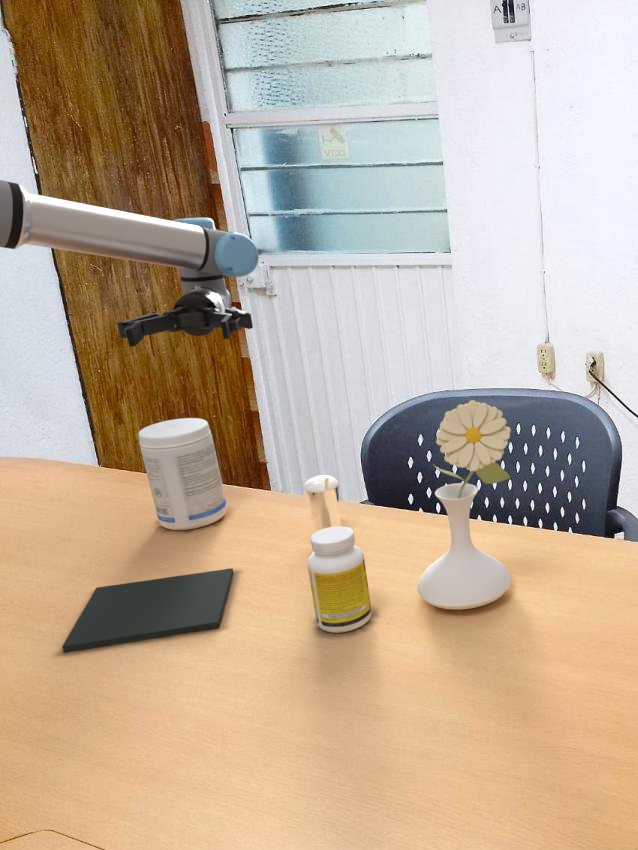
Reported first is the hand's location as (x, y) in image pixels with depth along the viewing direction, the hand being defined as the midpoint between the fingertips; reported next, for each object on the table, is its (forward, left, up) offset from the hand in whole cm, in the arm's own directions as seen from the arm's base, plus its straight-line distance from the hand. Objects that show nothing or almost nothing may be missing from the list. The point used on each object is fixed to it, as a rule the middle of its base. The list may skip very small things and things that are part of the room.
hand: (178, 334), depth 130 cm
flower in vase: (+37, -51, -26) cm, 68 cm away
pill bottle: (+22, -52, -26) cm, 62 cm away
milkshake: (+20, -28, -26) cm, 43 cm away
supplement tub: (0, -14, -26) cm, 30 cm away
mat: (0, -42, -26) cm, 50 cm away
